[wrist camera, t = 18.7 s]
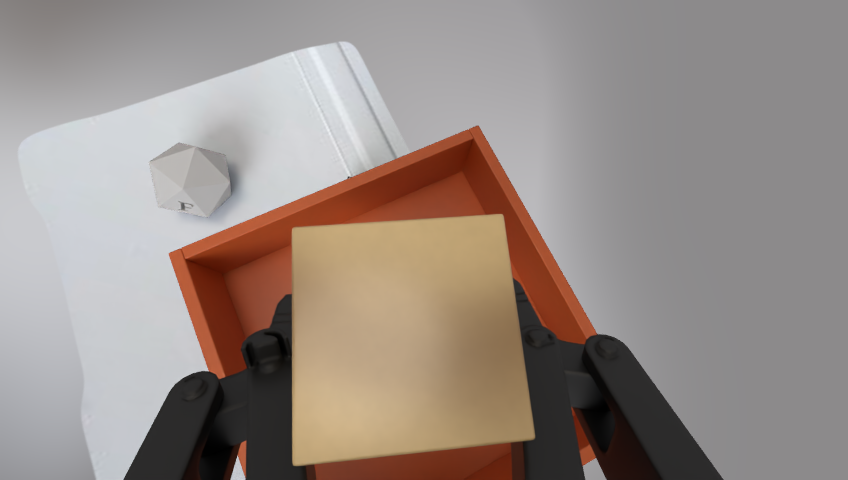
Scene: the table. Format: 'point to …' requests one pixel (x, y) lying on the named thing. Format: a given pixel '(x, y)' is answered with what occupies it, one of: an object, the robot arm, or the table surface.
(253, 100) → the table surface
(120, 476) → the table surface
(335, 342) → the block
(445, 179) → the pedestal with orange tray
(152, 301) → the table surface
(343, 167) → the table surface
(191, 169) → the die
